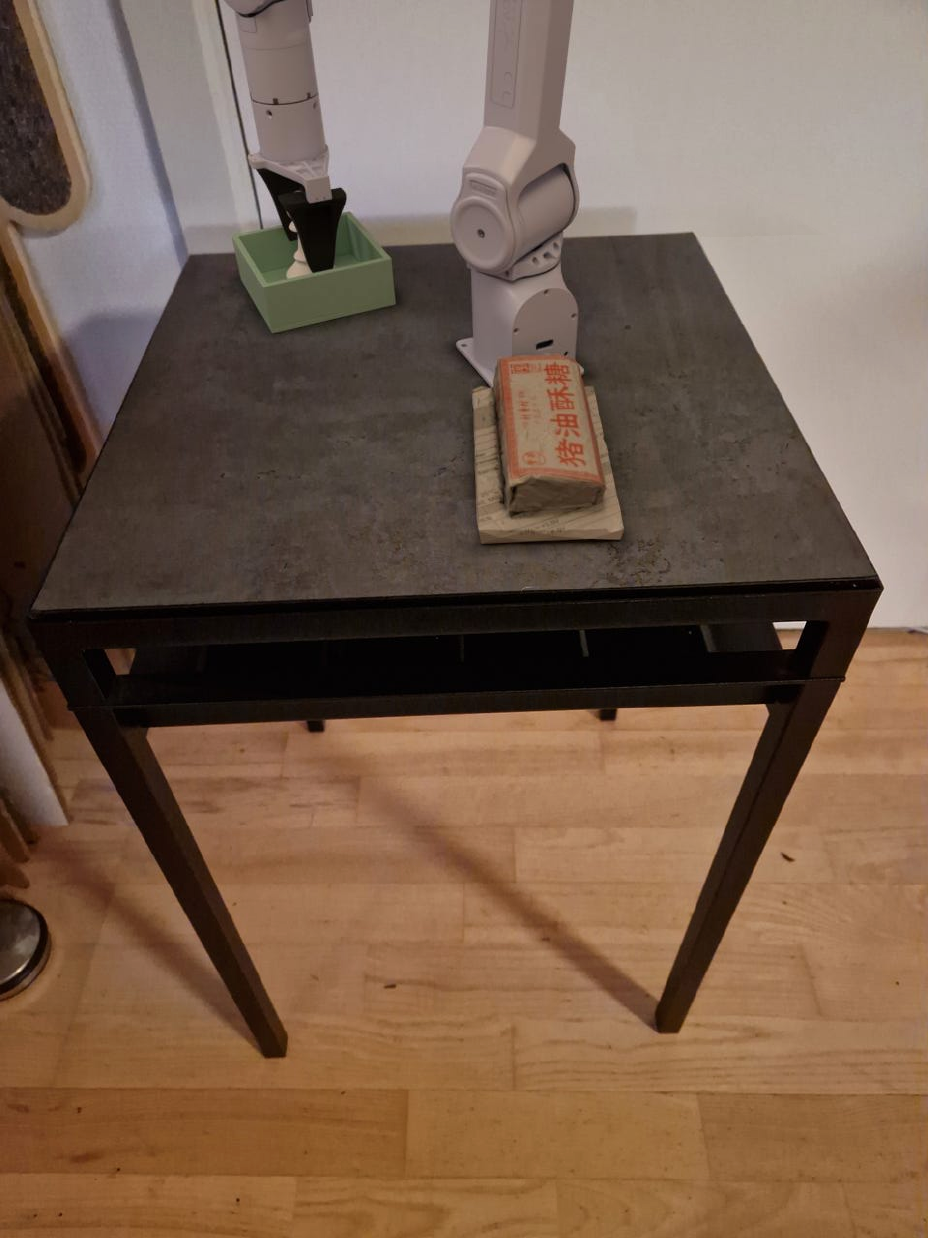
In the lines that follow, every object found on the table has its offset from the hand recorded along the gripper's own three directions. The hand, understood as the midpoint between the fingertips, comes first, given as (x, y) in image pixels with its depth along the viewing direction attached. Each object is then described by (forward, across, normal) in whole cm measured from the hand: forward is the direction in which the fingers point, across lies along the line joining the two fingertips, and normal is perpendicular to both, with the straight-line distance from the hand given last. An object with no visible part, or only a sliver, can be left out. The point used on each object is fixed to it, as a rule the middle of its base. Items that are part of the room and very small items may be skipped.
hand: (310, 253), depth 85 cm
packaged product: (+4, +35, +7) cm, 36 cm away
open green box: (+4, 0, 0) cm, 4 cm away
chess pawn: (+3, 0, 0) cm, 4 cm away
